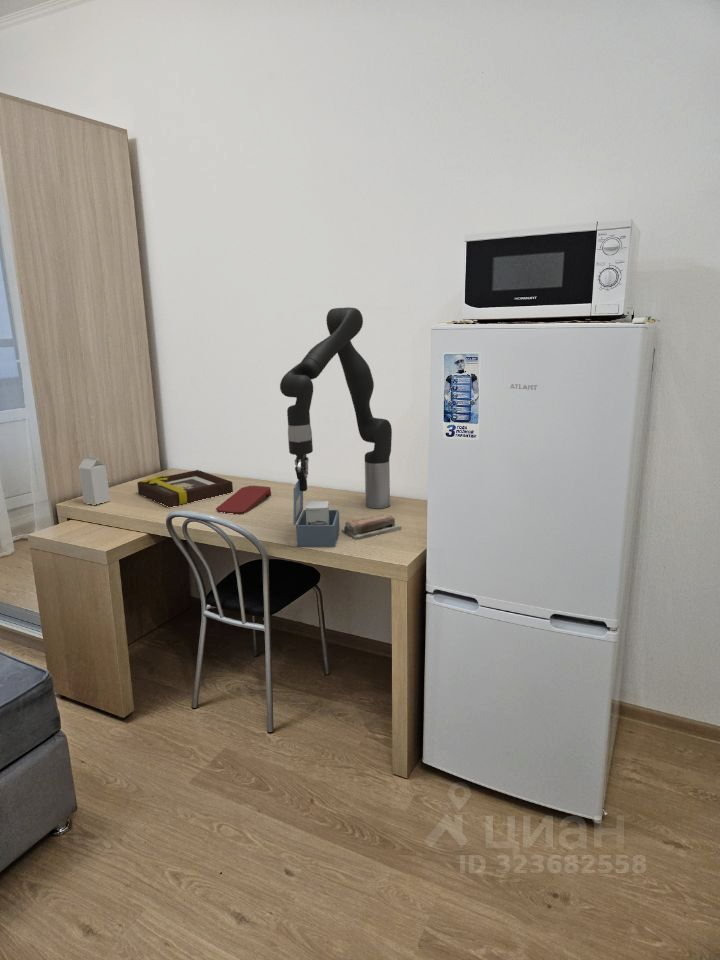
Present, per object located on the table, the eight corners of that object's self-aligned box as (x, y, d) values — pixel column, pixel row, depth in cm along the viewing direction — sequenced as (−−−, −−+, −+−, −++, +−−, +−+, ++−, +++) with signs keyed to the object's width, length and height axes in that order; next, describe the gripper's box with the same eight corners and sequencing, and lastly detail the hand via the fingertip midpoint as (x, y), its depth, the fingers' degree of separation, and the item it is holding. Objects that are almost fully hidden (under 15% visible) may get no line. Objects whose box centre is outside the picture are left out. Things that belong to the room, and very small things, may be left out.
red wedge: (243, 524, 236) (275, 496, 257) (241, 512, 234) (274, 485, 255) (216, 521, 240) (249, 493, 261) (213, 509, 238) (247, 482, 259)
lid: (303, 509, 216) (301, 509, 216) (303, 474, 213) (301, 474, 213) (295, 525, 200) (293, 525, 200) (295, 488, 197) (293, 488, 197)
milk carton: (95, 506, 249) (89, 459, 244) (83, 504, 253) (76, 457, 248) (110, 501, 255) (104, 455, 250) (98, 499, 259) (92, 453, 254)
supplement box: (306, 545, 203) (304, 507, 200) (307, 537, 210) (306, 500, 207) (329, 544, 203) (328, 507, 200) (330, 536, 210) (328, 500, 207)
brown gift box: (168, 492, 242) (135, 478, 264) (170, 509, 244) (137, 494, 266) (232, 478, 261) (196, 466, 282) (234, 494, 262) (198, 481, 284)
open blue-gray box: (304, 529, 218) (303, 509, 216) (339, 529, 217) (338, 509, 215) (297, 546, 202) (296, 525, 200) (334, 546, 201) (334, 525, 200)
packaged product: (355, 527, 205) (340, 519, 214) (355, 541, 206) (341, 533, 215) (401, 517, 214) (385, 509, 222) (401, 530, 215) (385, 522, 224)
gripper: (291, 434, 209) (295, 485, 214) (284, 442, 196) (288, 496, 201) (314, 433, 208) (317, 484, 213) (309, 442, 196) (312, 496, 200)
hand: (303, 490), depth 207 cm, fingers closed
